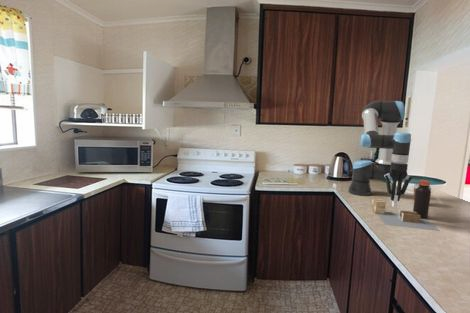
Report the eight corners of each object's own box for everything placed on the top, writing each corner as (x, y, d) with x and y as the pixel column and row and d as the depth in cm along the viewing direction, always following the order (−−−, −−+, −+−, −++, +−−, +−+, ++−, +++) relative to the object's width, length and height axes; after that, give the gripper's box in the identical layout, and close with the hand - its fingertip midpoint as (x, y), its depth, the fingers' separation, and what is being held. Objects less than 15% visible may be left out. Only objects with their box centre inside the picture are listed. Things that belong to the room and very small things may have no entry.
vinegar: (430, 218, 147) (435, 182, 144) (420, 219, 145) (425, 182, 142) (418, 214, 154) (423, 179, 151) (409, 215, 152) (414, 179, 149)
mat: (374, 211, 158) (374, 210, 158) (421, 216, 152) (421, 215, 152) (385, 225, 137) (385, 224, 136) (440, 231, 131) (440, 230, 131)
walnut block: (399, 210, 147) (416, 211, 145) (398, 217, 147) (415, 219, 146) (403, 213, 141) (420, 215, 139) (402, 221, 142) (419, 223, 140)
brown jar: (413, 200, 181) (415, 183, 179) (430, 204, 174) (433, 186, 172) (409, 203, 174) (411, 185, 172) (427, 207, 167) (429, 188, 166)
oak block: (371, 210, 157) (372, 198, 156) (380, 211, 157) (381, 199, 156) (375, 213, 152) (376, 201, 151) (384, 214, 152) (385, 202, 151)
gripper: (387, 162, 139) (382, 207, 142) (416, 164, 136) (410, 210, 140) (383, 160, 146) (378, 203, 150) (410, 162, 143) (405, 205, 147)
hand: (394, 206), depth 145 cm, fingers closed
